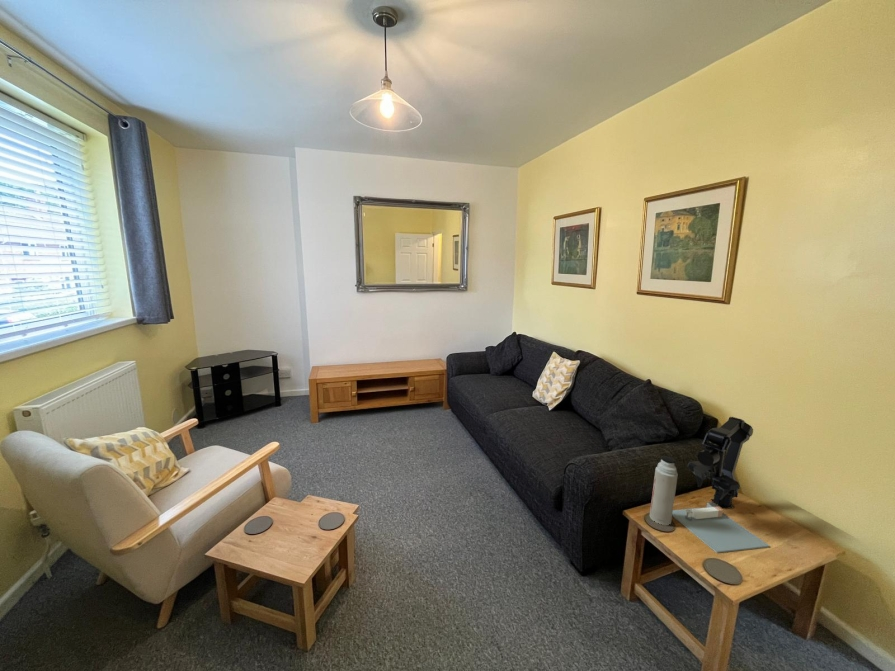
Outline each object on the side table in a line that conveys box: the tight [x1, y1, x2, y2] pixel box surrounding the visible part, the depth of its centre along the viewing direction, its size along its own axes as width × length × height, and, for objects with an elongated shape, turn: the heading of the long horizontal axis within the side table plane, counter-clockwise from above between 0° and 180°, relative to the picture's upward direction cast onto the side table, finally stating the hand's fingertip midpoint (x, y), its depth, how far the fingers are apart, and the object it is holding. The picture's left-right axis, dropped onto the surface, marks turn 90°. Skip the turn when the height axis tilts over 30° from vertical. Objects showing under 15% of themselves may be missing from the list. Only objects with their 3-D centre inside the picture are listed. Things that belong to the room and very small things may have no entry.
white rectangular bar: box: [691, 506, 724, 519], centre depth 151 cm, size 13×2×3 cm, turn 100°
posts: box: [685, 501, 720, 521], centre depth 152 cm, size 18×4×4 cm, turn 109°
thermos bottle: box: [649, 455, 679, 526], centre depth 147 cm, size 8×8×28 cm
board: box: [672, 506, 771, 554], centre depth 145 cm, size 24×24×1 cm
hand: (709, 493), depth 150 cm, fingers open, 9 cm apart
